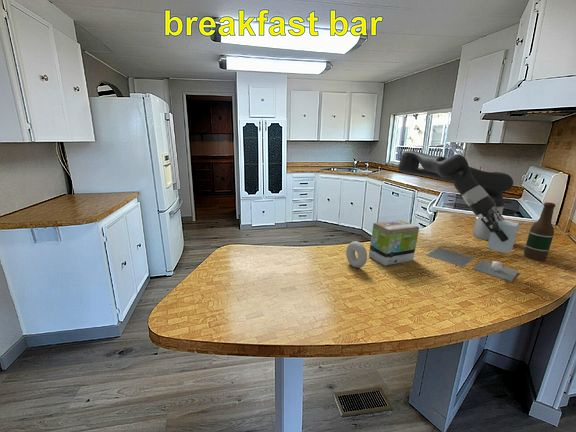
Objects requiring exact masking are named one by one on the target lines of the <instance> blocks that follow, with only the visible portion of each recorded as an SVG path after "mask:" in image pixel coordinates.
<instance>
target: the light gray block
mask: <svg viewBox="0 0 576 432" xmlns="http://www.w3.org/2000/svg"><path fill="white" fill-rule="evenodd" d="M499 222H500V223H499V224H498V225H499V226H500V228H501V229H502V231H503V232H504V233H505V234H506V236H507V237H508V240H506V241H504V242H502V241H501V240H500V239H499V237H498V236H497V235H496V234H495V233H493V232H491V233H490V237H489V240H487V241H488V242H487V246H486V248H487V249H490V250H493V251H498V252H501V253H504V254H509V253H510V252H511V251H512V250H513V247H514V243H515V240H516V238H517V237H516V236H517V234H518V229H519V226H520V223H519V222H514V221H510V220H509V221H508V220H506V219H504V220H503V221H502V220H500V219H499ZM494 223H495V222H494ZM493 228H495V227H494V226H493Z"/></svg>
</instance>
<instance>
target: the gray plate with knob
mask: <svg viewBox="0 0 576 432" xmlns="http://www.w3.org/2000/svg"><path fill="white" fill-rule="evenodd" d="M472 270H473V271H477V272H479V273H483V274H486V275H490V276H491V277H494V278H495V277H496V278H499V279H502V280H503V281H505V282H508V281H509V282H508V283H512V282H513V281H514V279H515V277H516V276H517V275H518V274H519V272H520V271H519V270H516V269H513V268H509V267H505V266H503V263H502V262H501V261H497V260H492V262H489V261H485V260H481V261H479V263H477V264H476V265H475V266H474V267H473V268H472ZM511 281H512V282H511Z"/></svg>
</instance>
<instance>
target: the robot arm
mask: <svg viewBox="0 0 576 432" xmlns="http://www.w3.org/2000/svg"><path fill="white" fill-rule="evenodd" d="M419 166H421V167H422V169H421V168H419ZM397 170H398V171H399V172H401V173H403V174H408V175H409V174H410V175H416V176H421V177H427V178H432V179H436V180H440V181H445V182H449V183H453V186H454V188H455V189H456V190H457V191H458V193H459V195H460V196H462V197H461V198H462V199H463V200H464V203H466V205H467V206H468V207H469V209H470V210H471V211H472V213H473V214H474V216H476V217H475V222H474V225H473V231H472V235H473V236H474V237H475V238H477V239H481V240H485V241H489V237H490V233H491V232H493V233H495V234H496V235H497V236H498V237H499V239H500V240H501V241H502V242H504V241H506V240H508V237H507V236H506V234H505V233H504V232H503V231H502V229H501V228H500V226H499V225H498V224H499V223H500V222H499V219H500V220H502V221H503V220H505V218H504V217H503V211H504V207H505V202H506V201H505V199H504V197H503V193H504V192H507V191H509V190H511V188H513V186H514V180H513V177H512V176H510V175H509V174H508V173H505V172H501V171H492V172H491V171H485V170H480V169H477V168H474V167H472V166H469V163H468V161H467V159H466V157H465V156H463V155H462V154H459V153H455V154H453V155H451V156H449V157H444V156H441V155H431V154H428V153H423V152H419V151H415V150H404V151H402V154H401V156H400V160H399V163H398V166H397ZM494 222H495V223H494ZM493 226H494V227H495V228H493Z"/></svg>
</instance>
